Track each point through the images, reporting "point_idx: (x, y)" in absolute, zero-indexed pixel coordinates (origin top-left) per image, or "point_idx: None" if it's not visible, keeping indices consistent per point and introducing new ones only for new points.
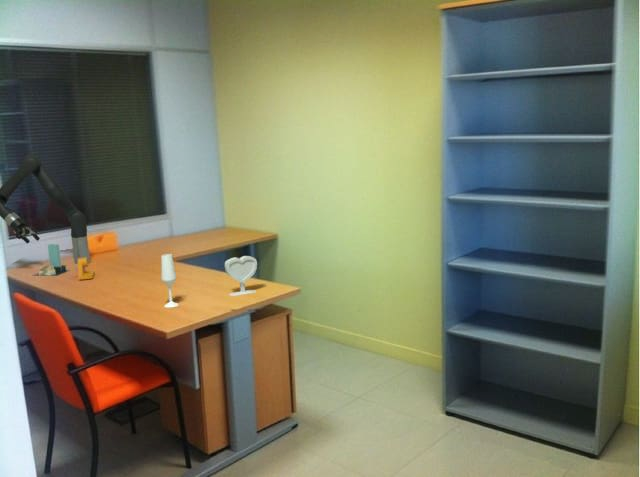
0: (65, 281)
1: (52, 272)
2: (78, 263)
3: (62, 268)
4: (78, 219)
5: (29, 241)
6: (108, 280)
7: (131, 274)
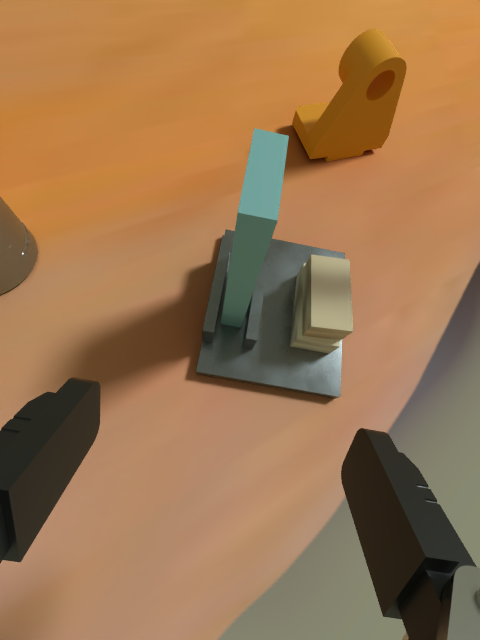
0: (390, 197)
1: None
2: (402, 79)
3: (228, 261)
4: None
5: (366, 431)
6: None
7: (280, 31)
